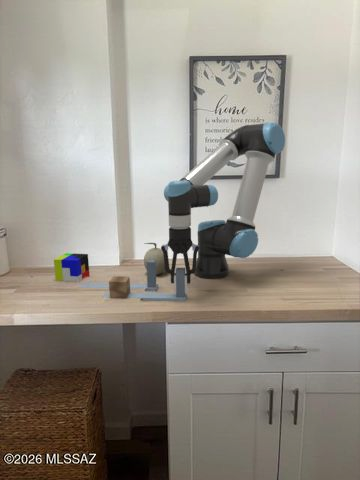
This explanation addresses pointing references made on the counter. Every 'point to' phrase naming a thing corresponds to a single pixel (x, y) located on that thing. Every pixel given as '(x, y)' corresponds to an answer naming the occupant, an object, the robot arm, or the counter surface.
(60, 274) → the puzzle toy
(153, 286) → the lane
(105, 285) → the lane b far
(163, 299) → the strip
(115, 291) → the cube
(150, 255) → the fruit
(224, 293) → the counter surface
